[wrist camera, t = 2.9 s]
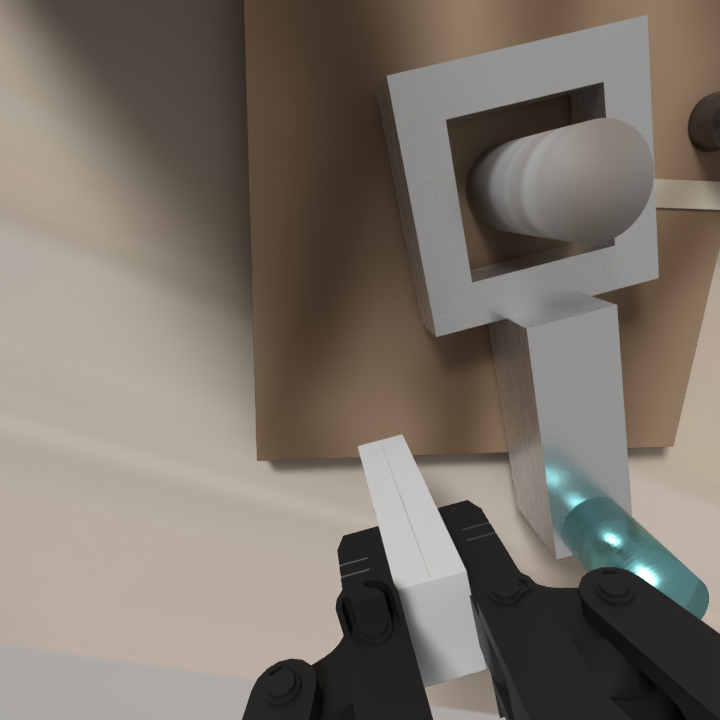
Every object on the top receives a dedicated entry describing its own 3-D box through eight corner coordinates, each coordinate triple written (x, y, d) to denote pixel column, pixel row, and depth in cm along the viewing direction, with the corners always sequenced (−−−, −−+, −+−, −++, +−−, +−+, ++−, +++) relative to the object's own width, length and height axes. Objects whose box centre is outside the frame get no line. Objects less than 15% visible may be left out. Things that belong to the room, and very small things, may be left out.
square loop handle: (375, 89, 17) (440, 9, 10) (607, 35, 17) (833, -80, 10) (462, 526, 22) (544, 679, 15) (636, 476, 23) (795, 602, 16)
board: (258, 446, 22) (246, 557, 15) (240, -241, 15) (203, -585, 8) (654, 434, 24) (795, 524, 17) (784, -161, 18) (1086, -378, 11)
